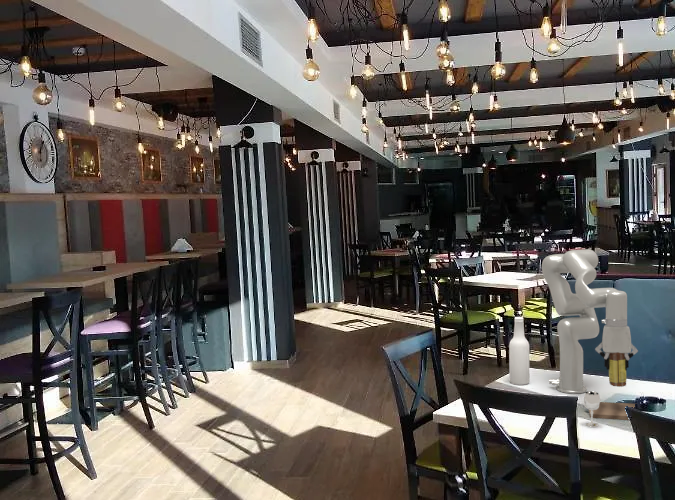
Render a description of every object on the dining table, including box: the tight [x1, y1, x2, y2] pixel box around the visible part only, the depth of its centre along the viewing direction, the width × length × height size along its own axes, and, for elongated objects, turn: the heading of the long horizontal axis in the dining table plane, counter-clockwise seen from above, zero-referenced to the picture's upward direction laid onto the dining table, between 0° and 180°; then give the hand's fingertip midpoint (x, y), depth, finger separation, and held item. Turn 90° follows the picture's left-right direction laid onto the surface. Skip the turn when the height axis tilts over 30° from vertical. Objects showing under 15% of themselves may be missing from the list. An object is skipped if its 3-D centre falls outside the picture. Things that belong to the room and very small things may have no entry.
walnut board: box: [587, 401, 636, 421], centre depth 258 cm, size 20×16×2 cm
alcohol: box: [508, 316, 531, 386], centre depth 301 cm, size 9×9×30 cm
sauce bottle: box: [608, 352, 627, 388], centre depth 256 cm, size 6×6×20 cm
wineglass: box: [583, 390, 601, 428], centre depth 245 cm, size 6×6×12 cm
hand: (616, 368), depth 256 cm, fingers closed on sauce bottle, 5 cm apart
